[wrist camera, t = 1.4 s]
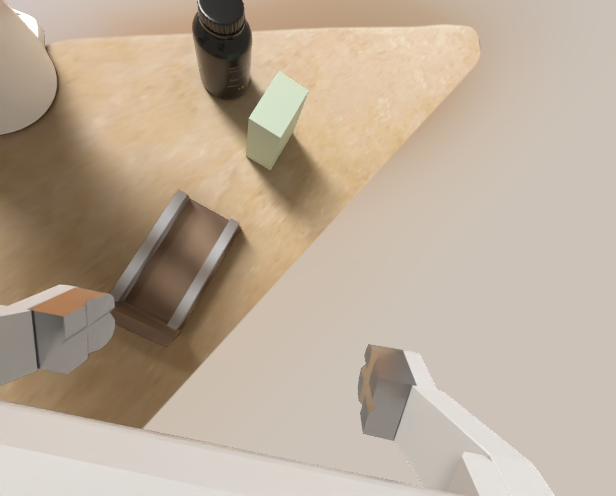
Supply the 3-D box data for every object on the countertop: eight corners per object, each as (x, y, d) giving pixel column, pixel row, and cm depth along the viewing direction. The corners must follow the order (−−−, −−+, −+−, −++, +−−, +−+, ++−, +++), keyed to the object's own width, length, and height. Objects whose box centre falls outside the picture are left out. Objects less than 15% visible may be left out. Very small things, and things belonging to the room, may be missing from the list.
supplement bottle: (189, 75, 40) (170, -7, 29) (225, 48, 42) (220, -40, 30) (226, 111, 41) (221, 45, 29) (259, 83, 43) (267, 10, 31)
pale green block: (270, 170, 42) (280, 138, 32) (245, 156, 41) (248, 118, 31) (292, 133, 43) (308, 90, 33) (269, 118, 43) (278, 70, 33)
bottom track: (178, 335, 36) (165, 347, 30) (109, 303, 35) (81, 308, 29) (241, 228, 40) (241, 218, 33) (180, 194, 38) (169, 178, 32)
